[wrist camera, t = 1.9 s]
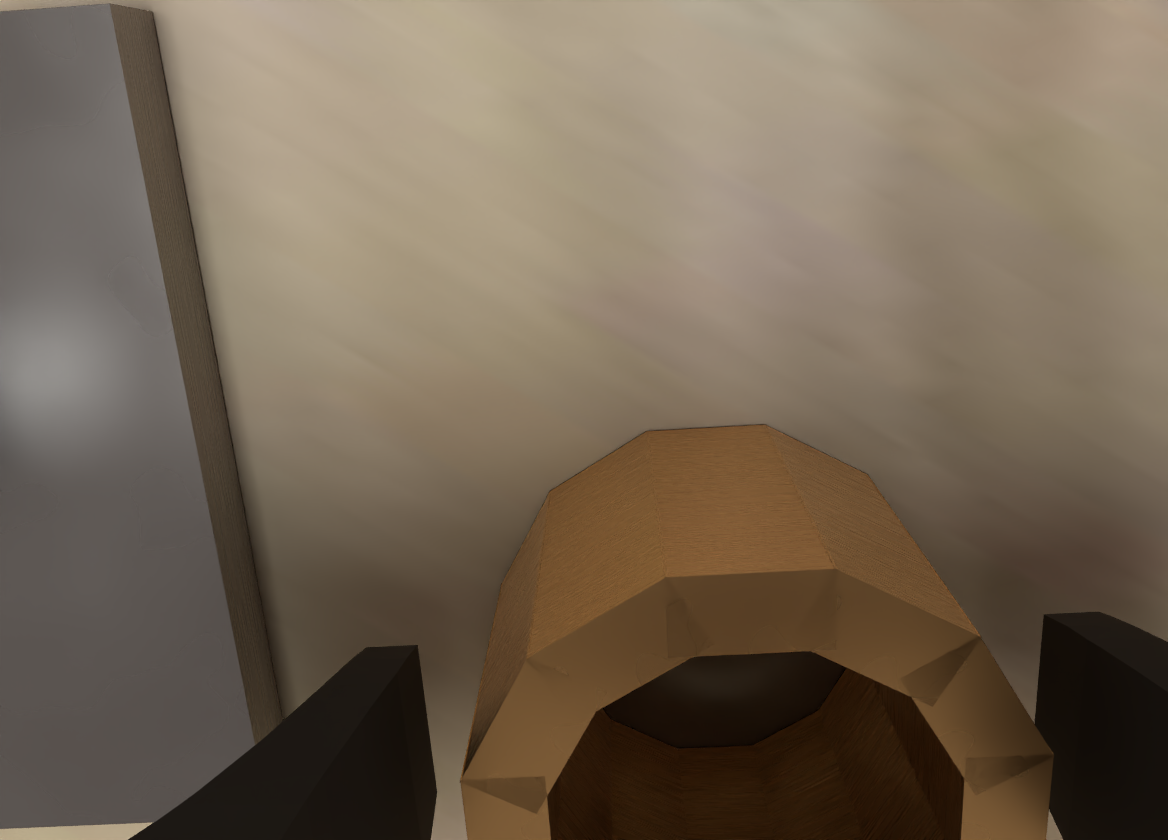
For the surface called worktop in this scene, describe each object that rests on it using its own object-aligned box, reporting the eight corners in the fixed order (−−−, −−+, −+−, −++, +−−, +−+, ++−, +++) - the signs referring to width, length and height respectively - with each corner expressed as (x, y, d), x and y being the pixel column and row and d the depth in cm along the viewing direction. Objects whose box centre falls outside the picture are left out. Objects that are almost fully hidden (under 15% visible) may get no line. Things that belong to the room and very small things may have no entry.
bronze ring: (928, 415, 12) (1073, 556, 9) (913, 787, 14) (1027, 1042, 10) (486, 440, 13) (436, 588, 9) (523, 803, 14) (494, 1060, 10)
